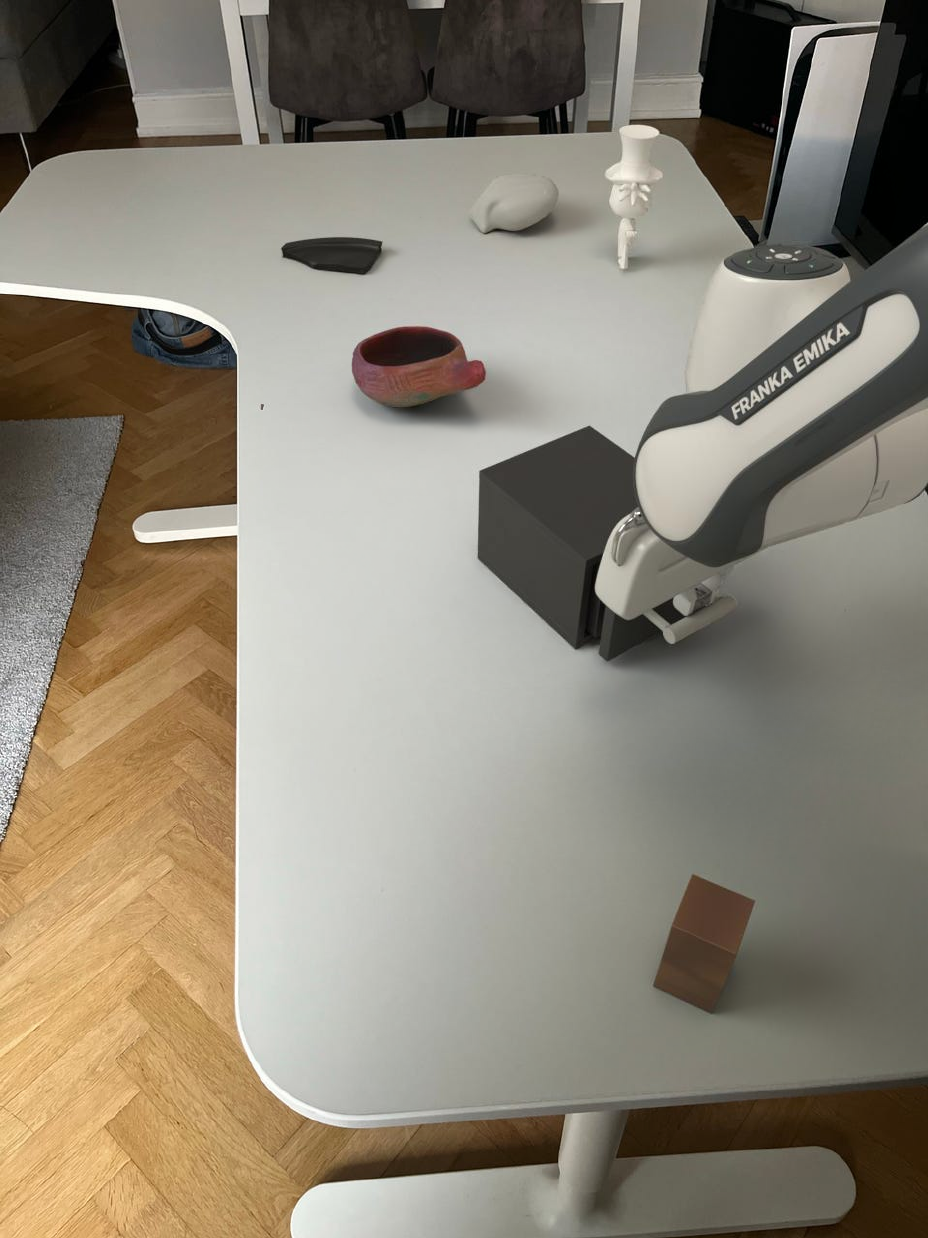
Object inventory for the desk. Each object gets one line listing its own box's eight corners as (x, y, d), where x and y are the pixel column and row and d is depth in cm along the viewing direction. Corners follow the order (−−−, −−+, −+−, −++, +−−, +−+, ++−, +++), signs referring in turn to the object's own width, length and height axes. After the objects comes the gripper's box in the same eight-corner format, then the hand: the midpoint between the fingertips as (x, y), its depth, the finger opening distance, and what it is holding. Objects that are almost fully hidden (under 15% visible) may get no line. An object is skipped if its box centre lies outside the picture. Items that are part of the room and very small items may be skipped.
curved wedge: (298, 240, 146) (296, 229, 145) (385, 251, 144) (384, 240, 143) (275, 263, 141) (273, 252, 139) (365, 276, 138) (364, 264, 137)
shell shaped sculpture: (562, 210, 155) (565, 167, 150) (548, 244, 146) (551, 199, 141) (481, 202, 157) (481, 159, 152) (462, 234, 148) (462, 190, 143)
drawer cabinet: (682, 593, 92) (701, 504, 85) (575, 649, 87) (586, 560, 80) (579, 511, 101) (589, 425, 93) (477, 558, 95) (479, 470, 88)
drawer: (743, 639, 86) (764, 567, 81) (644, 697, 82) (659, 624, 76) (606, 529, 97) (615, 458, 91) (511, 574, 92) (515, 502, 86)
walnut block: (729, 962, 66) (755, 900, 61) (711, 1014, 64) (736, 955, 58) (672, 936, 67) (692, 873, 62) (652, 986, 65) (671, 925, 59)
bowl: (341, 422, 112) (335, 358, 106) (367, 364, 121) (363, 303, 115) (482, 436, 110) (483, 372, 105) (498, 376, 119) (500, 315, 114)
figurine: (652, 283, 137) (672, 146, 124) (596, 281, 137) (611, 144, 125) (647, 250, 145) (665, 118, 132) (594, 248, 145) (608, 116, 132)
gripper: (650, 545, 65) (621, 683, 75) (855, 444, 73) (805, 579, 83) (588, 494, 69) (569, 632, 78) (790, 403, 77) (750, 538, 87)
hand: (692, 604), depth 81 cm, fingers closed, pressing on drawer
